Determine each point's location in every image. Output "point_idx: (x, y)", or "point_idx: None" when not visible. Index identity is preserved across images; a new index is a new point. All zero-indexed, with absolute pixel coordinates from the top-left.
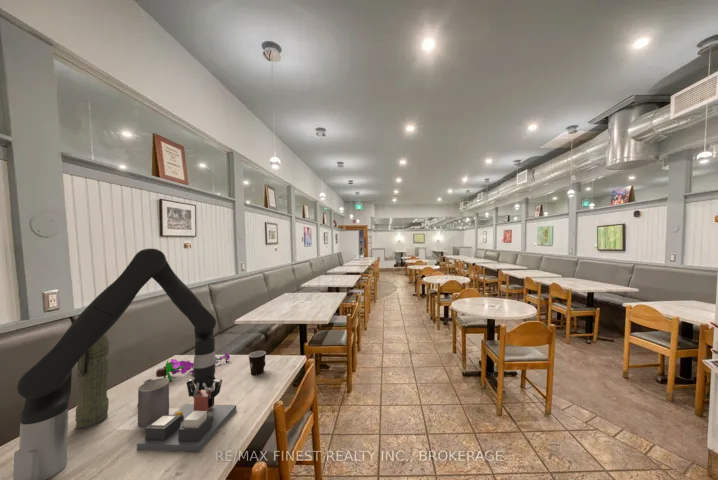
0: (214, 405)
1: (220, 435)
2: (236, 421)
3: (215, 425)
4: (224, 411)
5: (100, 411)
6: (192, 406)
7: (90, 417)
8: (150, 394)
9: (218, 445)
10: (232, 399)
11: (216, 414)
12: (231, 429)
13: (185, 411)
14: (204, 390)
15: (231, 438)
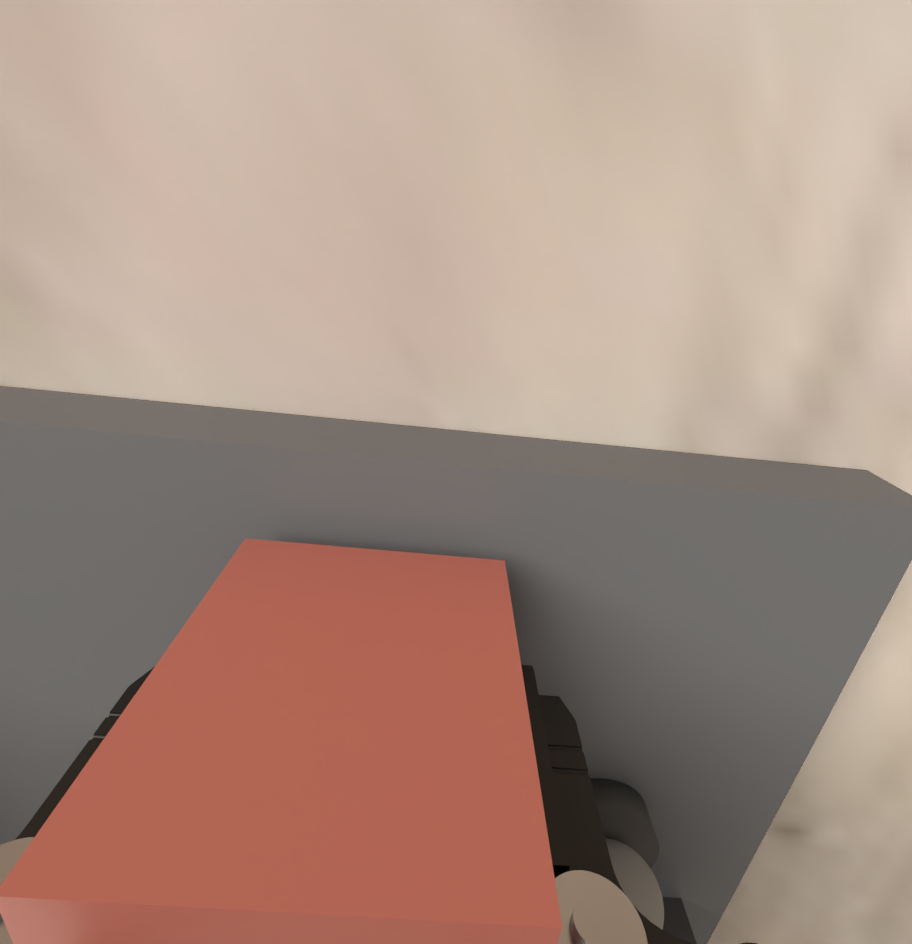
0: (483, 492)
1: (761, 852)
2: (902, 695)
3: (713, 874)
4: (751, 663)
5: None
6: (38, 498)
7: None
8: None
9: (778, 929)
10: (708, 53)
11: (643, 718)
12: (860, 796)
13: (51, 629)
14: (115, 925)
15: (881, 882)
